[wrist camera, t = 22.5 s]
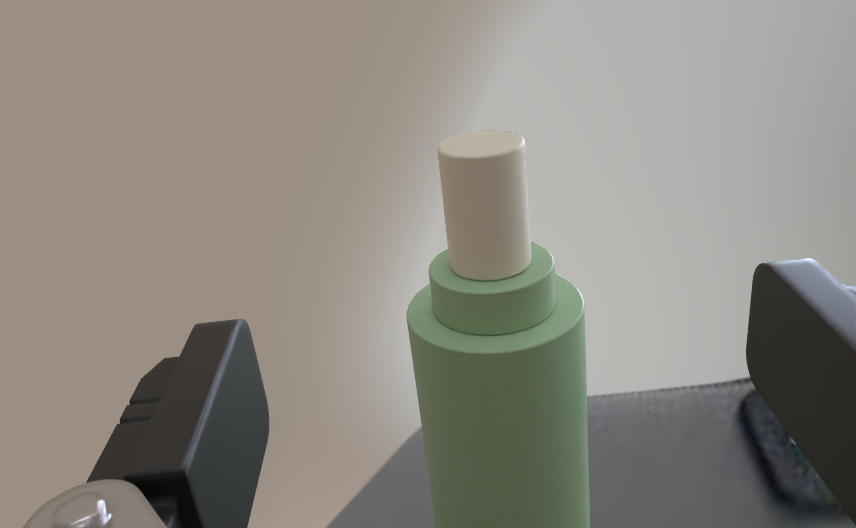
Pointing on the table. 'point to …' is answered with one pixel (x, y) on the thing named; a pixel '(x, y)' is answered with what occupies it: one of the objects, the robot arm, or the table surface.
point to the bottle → (499, 354)
